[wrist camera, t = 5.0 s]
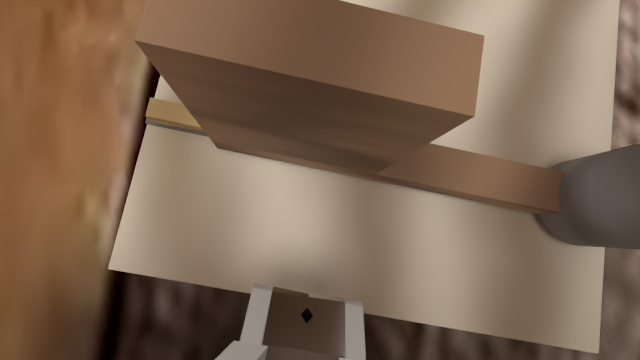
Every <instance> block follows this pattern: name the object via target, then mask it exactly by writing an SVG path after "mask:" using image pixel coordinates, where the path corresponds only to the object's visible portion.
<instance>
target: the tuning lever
mask: <svg viewBox="0 0 640 360" xmlns="http://www.w3.org/2000/svg"><path fill="white" fill-rule="evenodd" d="M134 41H135V42H136V43H137V44H138V46H139V47H140V48H141V50H142V51H143V52H144V54H145V55H146V56H147V57H148V59H149V60H150V61H151V63H152V64H153V65H154V67H155V68H156V69H157V70H158V72H159V73H160V74H161V76H162V77H163V78H164V80H165V81H166V82H167V83H168V85H169V86H170V87H171V89H172V90H173V91H174V93H175V94H176V95H177V96H178V98H179V99H180V100H181V102H182V103H183V104H179V103H174V102H169V101H165V100H160V99H155V98H151V97H150V101H149V104H148V108H147V112H146V115H145V116H146V117H147V118H148V119H150V120H151V121H152V122H156V123H161V124H166V125H171V126H175V127H180V128H185V129H190V130H195V131H200V132H204V133H206V134H207V136H208V137H209V138H210V139H211V141H212V142H213V143H214V145H215V146H216V147H217V148H218V149H223V150H228V151H233V152H238V153H243V154H248V155H253V156H257V157H262V158H267V159H272V160H277V161H282V162H287V163H292V164H297V165H302V166H306V167H311V168H316V169H321V170H326V171H331V172H336V173H341V174H346V175H350V176H355V177H360V178H365V179H370V180H375V181H380V182H385V183H390V184H395V185H399V186H404V187H409V188H414V189H419V190H424V191H429V192H434V193H439V194H443V195H448V196H453V197H458V198H463V199H468V200H473V201H478V202H483V203H488V204H492V205H497V206H502V207H507V208H512V209H517V210H522V211H527V212H532V213H537V214H540V217H541V219H542V221H543V223H544V224H545V226H546V227H547V229H548V230H549V231H550V232H551V233H552V234H553V235H554V236H555V237H557V238H558V239H559V240H561V241H563V242H565V243H567V244H571V245H576V246H590V247H609V248H628V249H640V144H638V145H631V146H627V147H623V148H619V149H614V150H610V151H606V152H602V153H598V154H594V155H590V156H585V157H581V158H577V159H573V160H569V161H565V162H561V163H558V164H556V165H554V166H553V167H551V168H550V169H547V168H543V167H538V166H534V165H529V164H524V163H520V162H515V161H510V160H506V159H501V158H496V157H492V156H487V155H483V154H478V153H473V152H469V151H464V150H459V149H455V148H450V147H445V146H441V145H436V144H432V143H430V142H432V141H434V140H435V139H437V138H439V137H440V136H442V135H444V134H446V133H447V132H449V131H451V130H452V129H454V128H456V127H458V126H459V125H461V124H463V123H464V122H466V121H468V120H470V119H471V118H473V117H475V109H476V101H477V93H478V85H479V77H480V69H481V60H482V52H483V44H484V35H480V34H476V33H472V32H468V31H464V30H459V29H455V28H451V27H447V26H443V25H439V24H435V23H431V22H427V21H423V20H419V19H414V18H410V17H406V16H402V15H398V14H394V13H390V12H386V11H382V10H378V9H373V8H369V7H365V6H361V5H357V4H353V3H349V2H345V1H341V0H146V1H145V5H144V8H143V11H142V15H141V18H140V22H139V25H138V29H137V32H136V36H135V39H134Z"/></svg>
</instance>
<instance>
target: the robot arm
mask: <svg viewBox="0 0 640 360" xmlns="http://www.w3.org/2000/svg"><path fill="white" fill-rule="evenodd" d="M272 288H273V290H272ZM215 360H366V349H365V331H364V313H363V305H362V302H360V301H354V300H347V299H343V298H339V297H333V296H326V295H320V294H314V293H304V292H299V291H294V290H289V289H283V288H278V287H273V286H268V285H262V284H257V283H254V286H253V288H252V292H251V296H250V300H249V304H248V309H247V313H246V317H245V321H244V325H243V329H242V333H241V337H240V341H233V342H232V343H231V344H230V345H229V346H228V347H227V348H226V349H225V350H224V351H223V352H222V353H221V354H220V355H219V356H218V357H217V358H216V359H215Z"/></svg>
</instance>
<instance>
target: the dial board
mask: <svg viewBox="0 0 640 360" xmlns="http://www.w3.org/2000/svg"><path fill="white" fill-rule="evenodd" d="M341 1H345V2H349V3H353V4H357V5H361V6H365V7H369V8H373V9H378V10H382V11H386V12H390V13H394V14H398V15H402V16H406V17H410V18H414V19H419V20H423V21H427V22H431V23H435V24H439V25H443V26H447V27H451V28H455V29H459V30H464V31H468V32H472V33H476V34H480V35H484V44H483V52H482V60H481V69H480V77H479V85H478V93H477V101H476V109H475V117H473V118H471V119H470V120H468V121H466V122H464V123H463V124H461V125H459V126H458V127H456V128H454V129H452V130H451V131H449V132H447V133H446V134H444V135H442V136H440V137H439V138H437V139H435V140H434V141H432V142H430V143H432V144H436V145H441V146H445V147H450V148H455V149H459V150H464V151H469V152H473V153H478V154H483V155H487V156H492V157H496V158H501V159H506V160H510V161H515V162H520V163H524V164H529V165H534V166H538V167H543V168H547V169H550V168H551V167H553V166H554V165H556V164H558V163H561V162H565V161H569V160H573V159H577V158H581V157H585V156H590V155H594V154H598V153H602V152H606V151H610V150H611V137H612V120H613V103H614V86H615V69H616V52H617V35H618V18H619V2H620V0H341ZM155 99H160V100H165V101H169V102H174V103H179V104H183V103H182V102H181V100H180V99H179V98H178V96H177V95H176V94H175V93H174V91H173V90H172V89H171V87H170V86H169V85H168V83H167V82H166V81H165V80H164V78H163V77H162V76H160V80H159V83H158V87H157V91H156V94H155ZM146 124H147V127H146V131H145V135H144V138H143V142H142V146H141V149H140V153H139V157H138V160H137V164H136V168H135V171H134V175H133V179H132V182H131V186H130V190H129V193H128V197H127V201H126V204H125V208H124V212H123V215H122V219H121V223H120V226H119V230H118V234H117V237H116V241H115V245H114V248H113V252H112V256H111V259H110V263H109V267H108V269H111V270H117V271H122V272H128V273H134V274H140V275H145V276H151V277H157V278H163V279H169V280H174V281H180V282H186V283H192V284H198V285H203V286H209V287H215V288H221V289H226V290H232V291H238V292H244V293H250V294H251V292H252V288H253V286H254V283H257V284H262V285H268V286H273V287H278V288H283V289H289V290H294V291H299V292H304V293H314V294H320V295H326V296H333V297H339V298H343V299H347V300H354V301H360V302H362V305H363V313H365V314H371V315H377V316H383V317H388V318H394V319H400V320H406V321H412V322H417V323H423V324H429V325H435V326H440V327H446V328H452V329H458V330H464V331H469V332H475V333H481V334H487V335H492V336H498V337H504V338H510V339H516V340H521V341H527V342H533V343H539V344H545V345H550V346H556V347H562V348H568V349H573V350H579V351H585V352H591V353H597V354H599V339H600V322H601V305H602V288H603V271H604V255H605V247H590V246H576V245H571V244H567V243H565V242H563V241H561V240H559V239H558V238H557V237H555V236H554V235H553V234H552V233H551V232H550V231H549V230H548V229H547V227H546V226H545V224H544V223H543V221H542V219H541V217H540V214H537V213H532V212H527V211H522V210H517V209H512V208H507V207H502V206H497V205H492V204H488V203H483V202H478V201H473V200H468V199H463V198H458V197H453V196H448V195H443V194H439V193H434V192H429V191H424V190H419V189H414V188H409V187H404V186H399V185H395V184H390V183H385V182H380V181H375V180H370V179H365V178H360V177H355V176H350V175H346V174H341V173H336V172H331V171H326V170H321V169H316V168H311V167H306V166H302V165H297V164H292V163H287V162H282V161H277V160H272V159H267V158H262V157H257V156H253V155H248V154H243V153H238V152H233V151H228V150H223V149H218V148H217V147H216V146H215V145H214V143H213V142H212V141H211V139H210V138H209V137H208V136H207V134H206V133H204V132H200V131H195V130H190V129H185V128H180V127H175V126H171V125H166V124H161V123H156V122H152V121H151V120H150V119H148V118H147V119H146ZM272 290H273V288H272Z"/></svg>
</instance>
